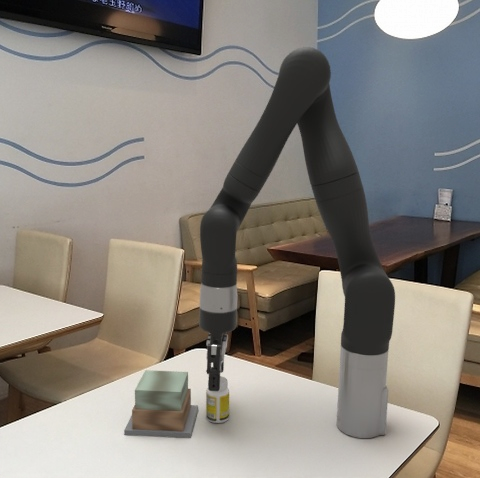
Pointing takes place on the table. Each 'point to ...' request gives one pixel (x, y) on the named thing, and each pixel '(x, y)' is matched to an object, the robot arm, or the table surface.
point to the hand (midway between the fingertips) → (216, 380)
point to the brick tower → (161, 401)
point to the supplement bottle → (218, 403)
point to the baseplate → (182, 434)
